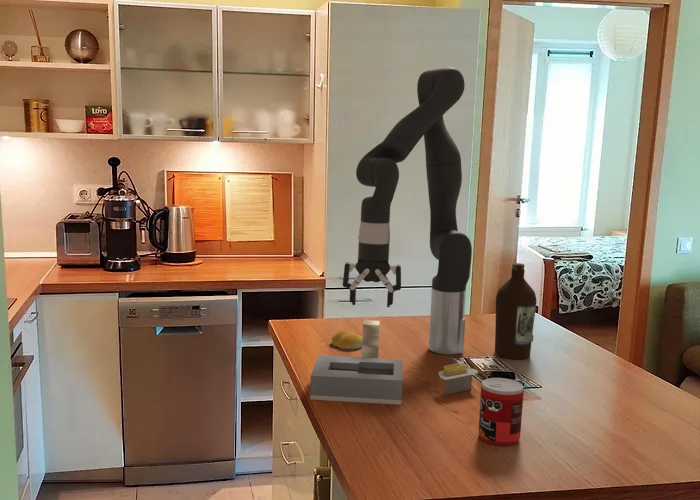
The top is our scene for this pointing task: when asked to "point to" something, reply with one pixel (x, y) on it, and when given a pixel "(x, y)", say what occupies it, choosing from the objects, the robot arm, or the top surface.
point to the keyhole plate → (357, 380)
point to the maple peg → (370, 339)
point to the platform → (457, 378)
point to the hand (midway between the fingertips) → (371, 305)
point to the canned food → (500, 411)
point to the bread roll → (347, 340)
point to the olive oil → (515, 316)
